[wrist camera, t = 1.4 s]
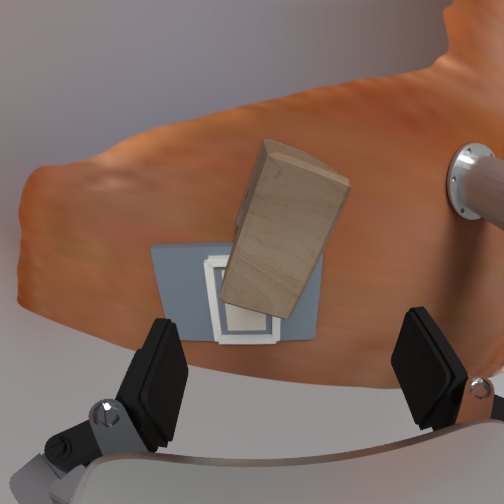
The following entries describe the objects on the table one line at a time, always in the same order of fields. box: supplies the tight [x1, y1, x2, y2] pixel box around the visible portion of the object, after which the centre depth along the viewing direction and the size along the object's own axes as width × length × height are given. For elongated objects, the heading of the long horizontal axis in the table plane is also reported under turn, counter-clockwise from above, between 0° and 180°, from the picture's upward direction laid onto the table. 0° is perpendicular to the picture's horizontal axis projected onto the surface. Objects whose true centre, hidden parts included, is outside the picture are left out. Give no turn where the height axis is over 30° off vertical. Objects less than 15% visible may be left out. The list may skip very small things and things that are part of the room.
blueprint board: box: [150, 242, 323, 344], centre depth 42 cm, size 24×17×2 cm
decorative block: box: [219, 138, 351, 319], centre depth 27 cm, size 11×6×20 cm, turn 160°
